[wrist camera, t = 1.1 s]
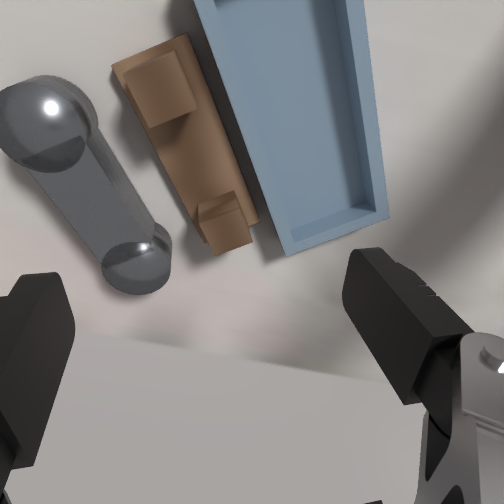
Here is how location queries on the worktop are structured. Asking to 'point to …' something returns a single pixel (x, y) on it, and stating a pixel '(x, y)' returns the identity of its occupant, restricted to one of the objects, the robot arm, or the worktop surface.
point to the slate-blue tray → (303, 110)
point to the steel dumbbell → (84, 180)
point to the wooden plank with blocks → (190, 140)
